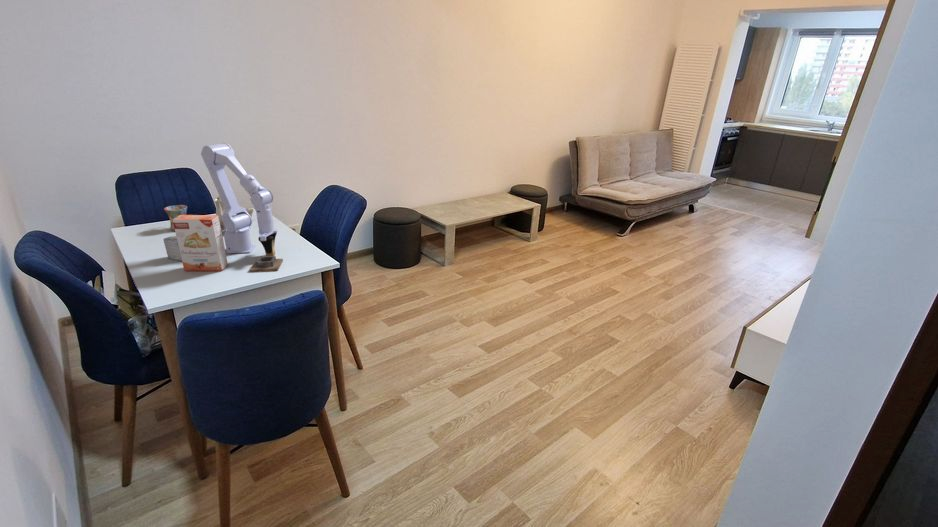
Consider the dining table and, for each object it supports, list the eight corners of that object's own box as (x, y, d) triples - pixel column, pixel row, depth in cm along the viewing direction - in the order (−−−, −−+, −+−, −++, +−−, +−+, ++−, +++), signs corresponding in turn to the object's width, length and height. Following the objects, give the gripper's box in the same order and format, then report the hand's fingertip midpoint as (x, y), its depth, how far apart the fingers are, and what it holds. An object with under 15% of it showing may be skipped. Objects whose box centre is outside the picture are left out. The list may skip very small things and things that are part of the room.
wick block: (266, 257, 185) (263, 239, 182) (267, 254, 188) (265, 236, 185) (273, 257, 185) (271, 238, 182) (275, 254, 188) (272, 236, 185)
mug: (194, 229, 214) (189, 208, 210) (172, 233, 208) (166, 211, 203) (187, 223, 221) (182, 202, 217) (165, 227, 215) (160, 206, 211)
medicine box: (192, 257, 183) (187, 237, 179) (182, 261, 179) (177, 241, 175) (177, 254, 185) (172, 235, 181) (167, 258, 181) (162, 238, 178)
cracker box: (183, 271, 170) (171, 218, 162) (191, 265, 175) (179, 214, 167) (222, 271, 171) (211, 219, 163) (228, 265, 176) (218, 214, 168)
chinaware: (245, 238, 210) (243, 203, 204) (205, 236, 205) (202, 201, 199) (255, 220, 235) (254, 189, 229) (220, 218, 230) (217, 186, 224)
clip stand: (250, 271, 171) (248, 264, 170) (256, 261, 180) (255, 254, 179) (277, 270, 173) (276, 263, 172) (283, 260, 182) (282, 254, 181)
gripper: (271, 225, 175) (276, 257, 180) (279, 214, 188) (283, 244, 193) (252, 225, 173) (257, 258, 179) (261, 214, 187) (266, 245, 192)
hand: (270, 251), depth 186 cm, fingers closed on wick block, 3 cm apart
